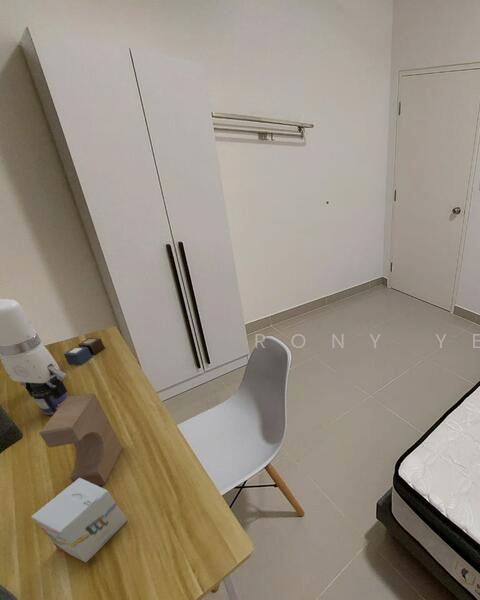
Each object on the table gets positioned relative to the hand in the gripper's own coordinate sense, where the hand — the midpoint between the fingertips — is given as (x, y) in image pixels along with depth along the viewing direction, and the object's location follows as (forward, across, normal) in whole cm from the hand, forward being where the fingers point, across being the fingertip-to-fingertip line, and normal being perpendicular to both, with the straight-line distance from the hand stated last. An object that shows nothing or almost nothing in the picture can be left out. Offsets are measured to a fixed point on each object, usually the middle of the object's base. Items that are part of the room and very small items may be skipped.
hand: (49, 393), depth 95 cm
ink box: (+6, +38, -32) cm, 50 cm away
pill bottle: (+6, 0, 0) cm, 6 cm away
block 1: (+6, -13, +22) cm, 26 cm away
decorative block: (+6, +28, -17) cm, 33 cm away
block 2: (+6, -13, +27) cm, 31 cm away
